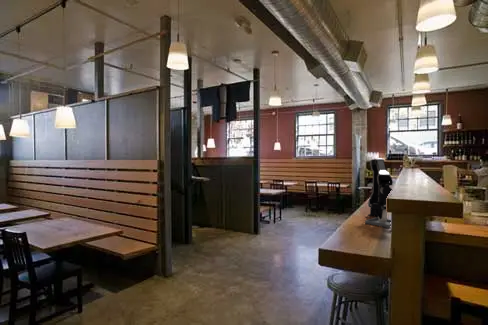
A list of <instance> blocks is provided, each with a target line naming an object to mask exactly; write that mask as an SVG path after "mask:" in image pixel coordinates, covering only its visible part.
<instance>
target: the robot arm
mask: <svg viewBox="0 0 488 325" xmlns="http://www.w3.org/2000/svg"><path fill="white" fill-rule="evenodd" d="M369 166H370V169H371V170H372V193H370V195H369V198H368V202H367V207H368V208H370V210H369V211H370V213H368V214H367V216H371V217H375V218H376V217H378V216H379V219H382V214H383V211H384V210H385V209H386V198H387V196H388V194H389V193H390V191H391V190H392V191H393V189H392V188H391V187H390V186H393V184H394V183H393V182H394V181H393V177H392V175H391V174H390V172H389V171H387V169H386V166H385V159H384V158H379V157H378V158H374V159H373V158H372V159H371V160H370V161H369ZM383 208H385V209H383Z"/></svg>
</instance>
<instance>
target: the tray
mask: <svg viewBox="0 0 488 325" xmlns="http://www.w3.org/2000/svg"><path fill="white" fill-rule="evenodd" d="M391 220H392V219H388V218H387V222H385V223H383V222H378V216H377V217H376V216H375V217H373V218H372V217H371V218H369V219H365V220H364V224H365V225H370V224H371V225H370V226H374V225H377V226H376V227H379V226H382V227H381V228H384V227H385V229H391V228H390V226H391V224H390V222H391Z"/></svg>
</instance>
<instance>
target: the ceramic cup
mask: <svg viewBox="0 0 488 325" xmlns="http://www.w3.org/2000/svg"><path fill="white" fill-rule="evenodd" d="M383 209H385V208H383ZM377 217H378V222H383V223H385V222H387V219H388V212H386V209H385V210H384V211H383V214H382V219H379V216H377Z"/></svg>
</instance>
